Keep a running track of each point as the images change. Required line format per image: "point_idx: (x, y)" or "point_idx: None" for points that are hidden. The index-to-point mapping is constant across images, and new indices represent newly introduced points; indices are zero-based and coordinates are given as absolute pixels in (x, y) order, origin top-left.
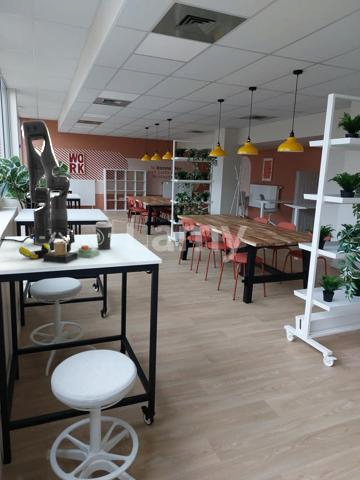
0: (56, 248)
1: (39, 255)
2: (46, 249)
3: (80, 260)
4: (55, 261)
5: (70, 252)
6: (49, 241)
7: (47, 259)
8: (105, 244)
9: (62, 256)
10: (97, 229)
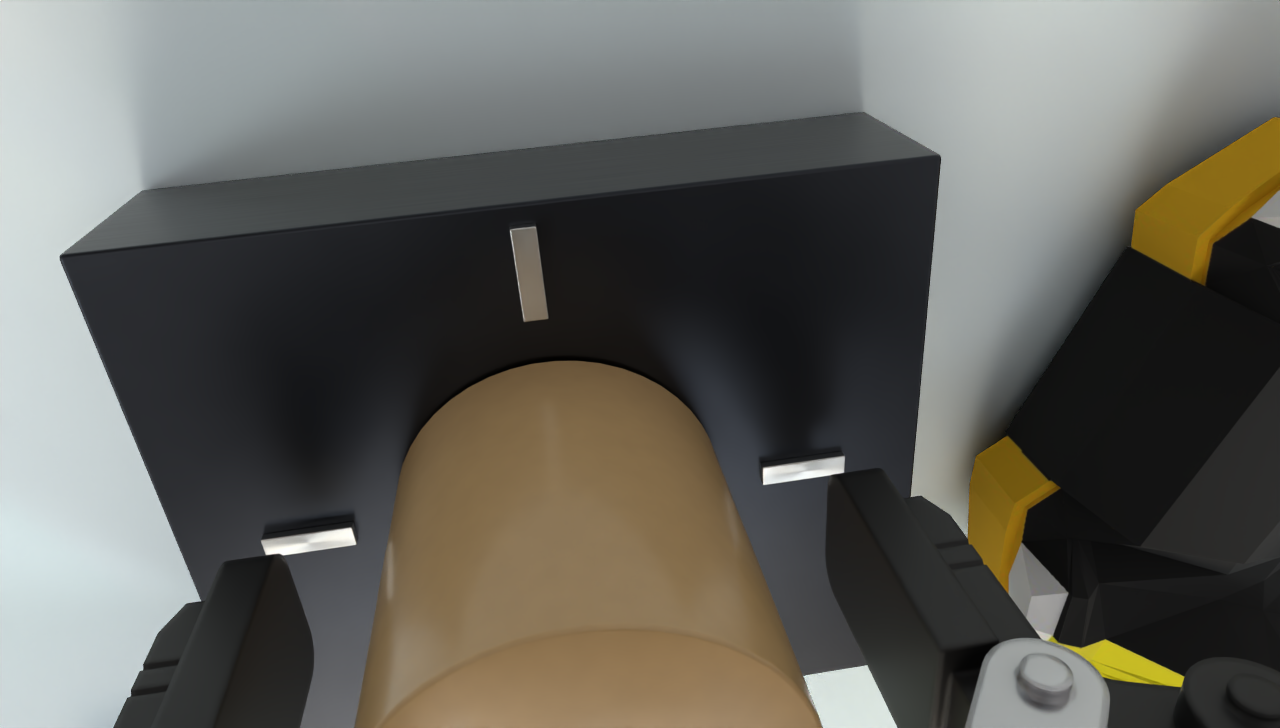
0: (589, 484)
1: (1142, 312)
2: (1151, 633)
3: (102, 575)
4: (490, 158)
5: None
6: (1076, 693)
7: (757, 138)
8: None
9: (256, 291)
10: None
